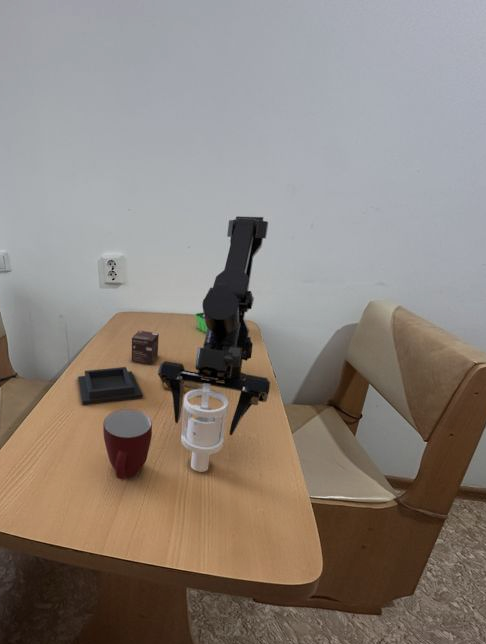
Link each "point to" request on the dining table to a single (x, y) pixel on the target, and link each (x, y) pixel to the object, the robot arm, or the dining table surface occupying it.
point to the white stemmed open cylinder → (203, 426)
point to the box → (144, 347)
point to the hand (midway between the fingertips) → (202, 428)
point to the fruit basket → (201, 321)
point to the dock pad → (108, 386)
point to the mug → (127, 440)
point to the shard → (187, 386)
